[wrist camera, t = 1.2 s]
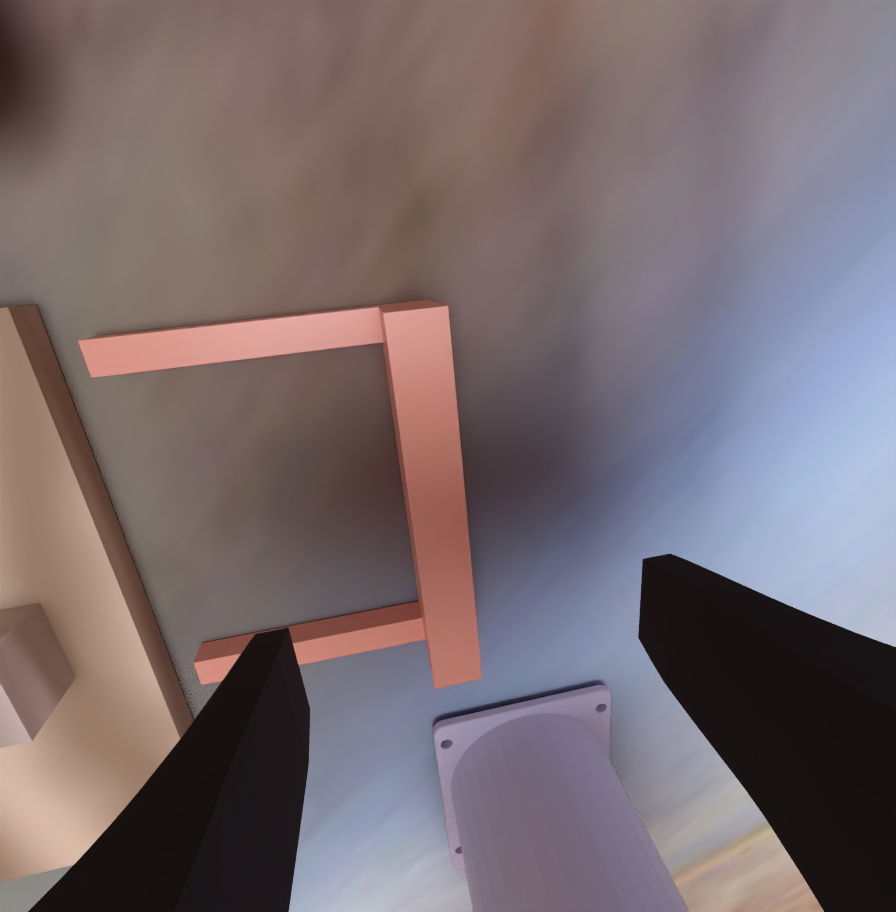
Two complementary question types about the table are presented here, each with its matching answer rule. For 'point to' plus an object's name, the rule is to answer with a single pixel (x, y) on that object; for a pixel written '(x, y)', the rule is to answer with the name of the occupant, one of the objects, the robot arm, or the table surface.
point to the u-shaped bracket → (420, 458)
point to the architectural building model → (67, 627)
